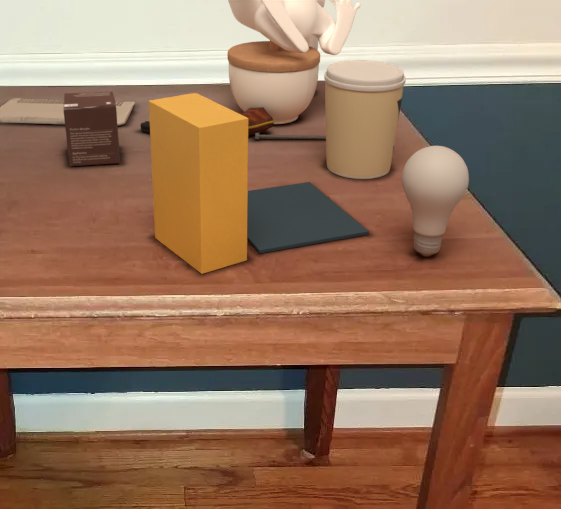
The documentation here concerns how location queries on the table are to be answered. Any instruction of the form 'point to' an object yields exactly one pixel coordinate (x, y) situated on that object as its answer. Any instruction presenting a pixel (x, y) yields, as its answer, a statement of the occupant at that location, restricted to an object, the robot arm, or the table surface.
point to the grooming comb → (48, 111)
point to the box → (91, 128)
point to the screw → (288, 136)
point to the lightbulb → (433, 193)
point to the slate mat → (296, 218)
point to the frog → (297, 22)
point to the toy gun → (256, 116)
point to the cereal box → (200, 180)
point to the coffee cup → (362, 117)
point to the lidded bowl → (273, 78)
